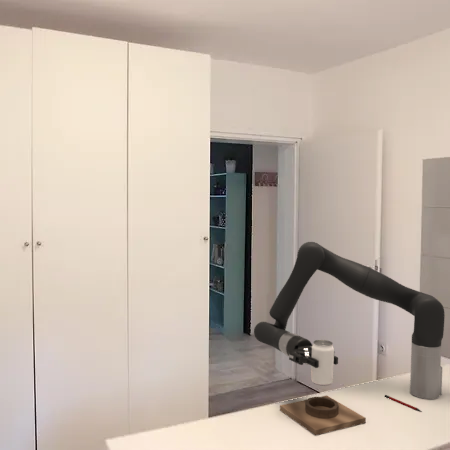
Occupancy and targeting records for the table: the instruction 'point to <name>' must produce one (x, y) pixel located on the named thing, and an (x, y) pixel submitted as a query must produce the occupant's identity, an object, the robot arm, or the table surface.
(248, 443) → the table surface
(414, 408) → the pencil
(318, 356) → the can
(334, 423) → the socket board
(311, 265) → the robot arm
